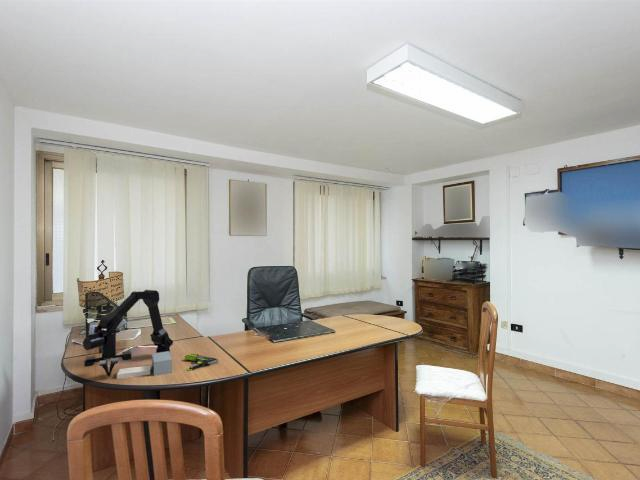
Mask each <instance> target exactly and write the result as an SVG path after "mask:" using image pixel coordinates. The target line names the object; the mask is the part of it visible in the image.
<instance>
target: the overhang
mask: <svg viewBox="0 0 640 480" xmlns="http://www.w3.org/2000/svg"><path fill="white" fill-rule="evenodd" d="M151 354H152V355H151V365H152V368H153V376H159V375H164V374H169V373H173V358H172V356H171V352H170V353H169V351H166V352H160V353H156V352H154V353H151Z"/></svg>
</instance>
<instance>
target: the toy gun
mask: <svg viewBox="0 0 640 480" xmlns="http://www.w3.org/2000/svg"><path fill="white" fill-rule="evenodd" d="M184 359H185V360H188V361H193V364H192V365H190V366H189V367H188V368H187V371H189V372H190V371H194V370H197V369H201V368H205V367H210V366H214V365H217V364H219V359H218V358H214V357H211V356H207V355H201V354H199V353H197V354H196V353H187V354H186V355H185V356H184Z"/></svg>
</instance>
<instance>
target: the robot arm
mask: <svg viewBox="0 0 640 480" xmlns="http://www.w3.org/2000/svg"><path fill="white" fill-rule="evenodd" d="M140 300H142V302H143V304H145V306H147V309H148V313H149V318H150V322H151V326H152V329H153V330H152V332H151V334H150V335H149V337H150V340H151V342H152V343H153V345H154V346H156V348H155V353H160V352H166V351H169V353H170V354H171V349H170V348H171V346H173V344H174V340H172V339H171V338H170V335H169V333H168V331H167V330H166V329H165V328H164V326H163V321H162V317H161V313H160V308H159V302H160V293H159V291H158V290H155V289H154V290H153V289H144V290H143V291H135V290H133V291H132V292H131V293H130V294H129V295H128V297H127V298H125V300H124V301H123V302H121V303H120V304H119V305H118V306H117V307H116V309H114V310H113V311H112V312H110V313H107V314H106V315H104V316H103V317H102V318H101V319H99V321H98V322H99V323H98V325H97V326H96V328H95V329H94V331H93V333H88V334H86V335H85V337H84V339H83V341H82V346H83V348H84V350H85V351H90V350H93V349H94V350H95V349H96V348H98V354H101V356H100V357H97V356H96V355H92V356H86V357H85V360H83V361H84V362H83V363H84V365H83V366H84V367H92V366H94V365H95V364H96V363H99V367H101V368H103V369H104V372H105V375H106V376H107V377H108V378H110V376H111V374H112V371H113V369H114V366H115V365H117V364H118V363H119V360H123V362H124V361H129V360H132V351H131V350H127V351H122V354H121V353H120V354H117V333H120V332H121V329H118V327H119V326H120V324H121V322H122V320H123V317H124V316H125V315H126V314H127V313H128V312H129V311H130V310H131V309H132V308H133V307H134V305H136V304H137V303H138V302H139V301H140ZM109 361H110V364H109Z"/></svg>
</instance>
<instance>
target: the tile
mask: <svg viewBox="0 0 640 480" xmlns="http://www.w3.org/2000/svg"><path fill="white" fill-rule="evenodd" d="M152 368H153V367H152V364H151V365H145V366H137V367H135V366H134V367H126V368H119V370H118V372H117V374H116V379H117V380H119V379H125V378H133V377H134V376H135V377H142V376H149V375H151V372H152V370H153V369H152ZM135 377H134V378H135Z"/></svg>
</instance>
